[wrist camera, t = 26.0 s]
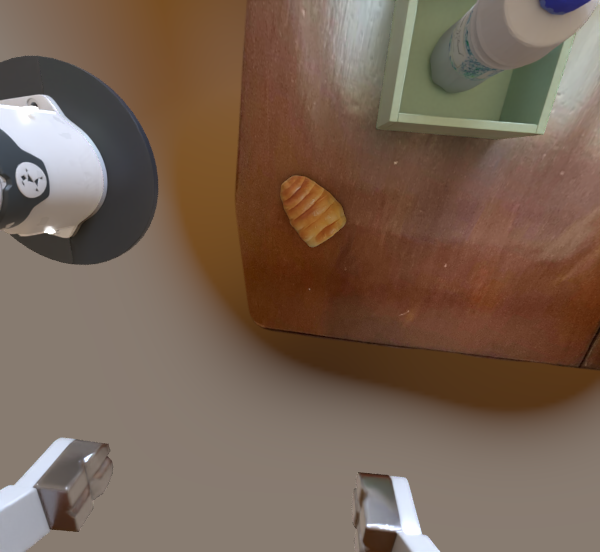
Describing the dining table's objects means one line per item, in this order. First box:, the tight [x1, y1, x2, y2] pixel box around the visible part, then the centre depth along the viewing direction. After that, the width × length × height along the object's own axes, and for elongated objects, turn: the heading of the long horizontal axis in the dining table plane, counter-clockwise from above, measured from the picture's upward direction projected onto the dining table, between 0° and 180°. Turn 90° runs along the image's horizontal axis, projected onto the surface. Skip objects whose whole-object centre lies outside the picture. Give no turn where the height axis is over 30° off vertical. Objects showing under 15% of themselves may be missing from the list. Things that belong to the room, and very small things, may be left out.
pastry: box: [280, 175, 346, 247], centre depth 42 cm, size 9×7×4 cm
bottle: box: [430, 0, 599, 93], centre depth 26 cm, size 7×7×20 cm
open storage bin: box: [376, 0, 576, 140], centre depth 33 cm, size 15×15×9 cm
